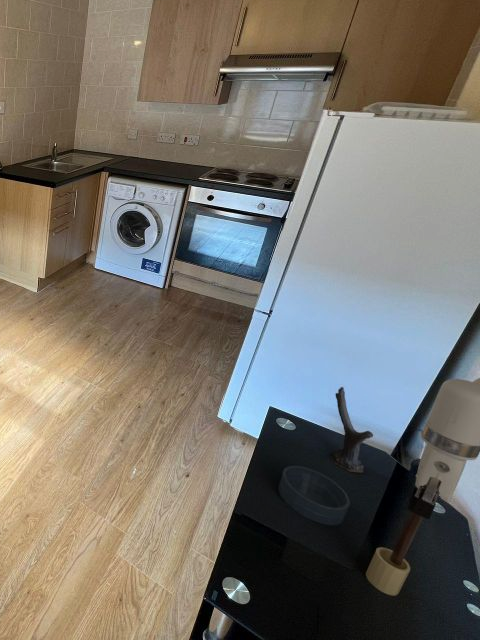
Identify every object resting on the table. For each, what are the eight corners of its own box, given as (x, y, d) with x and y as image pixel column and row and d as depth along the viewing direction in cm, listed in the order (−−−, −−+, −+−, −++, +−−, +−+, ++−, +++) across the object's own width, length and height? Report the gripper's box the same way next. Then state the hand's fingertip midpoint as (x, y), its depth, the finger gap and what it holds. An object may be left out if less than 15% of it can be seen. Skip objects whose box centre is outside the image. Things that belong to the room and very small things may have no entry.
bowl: (318, 484, 119) (324, 468, 117) (357, 530, 105) (364, 512, 103) (267, 479, 120) (272, 463, 118) (298, 523, 107) (304, 505, 105)
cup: (383, 573, 95) (395, 548, 92) (404, 599, 90) (417, 573, 87) (358, 570, 95) (369, 545, 93) (377, 595, 90) (390, 569, 88)
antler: (364, 466, 126) (392, 398, 118) (361, 479, 121) (389, 410, 113) (317, 444, 134) (340, 380, 127) (312, 456, 129) (336, 390, 122)
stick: (396, 557, 91) (427, 488, 85) (403, 566, 89) (435, 496, 83) (387, 556, 91) (417, 487, 85) (394, 565, 89) (426, 495, 83)
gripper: (478, 471, 73) (441, 546, 78) (481, 433, 82) (447, 503, 87) (418, 446, 78) (387, 518, 84) (427, 413, 88) (398, 480, 93)
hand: (418, 510), depth 86 cm, fingers closed on stick, 1 cm apart
